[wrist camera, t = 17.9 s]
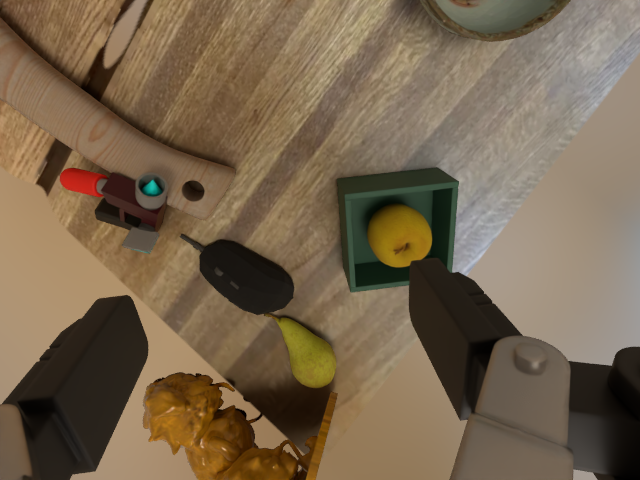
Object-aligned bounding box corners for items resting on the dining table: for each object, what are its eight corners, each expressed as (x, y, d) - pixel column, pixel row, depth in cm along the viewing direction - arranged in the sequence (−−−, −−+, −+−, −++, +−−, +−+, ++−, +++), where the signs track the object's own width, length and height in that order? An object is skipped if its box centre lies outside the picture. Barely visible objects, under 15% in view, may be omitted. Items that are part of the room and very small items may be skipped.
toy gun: (179, 176, 31) (153, 225, 29) (168, 227, 42) (148, 266, 39) (56, 119, 29) (17, 168, 27) (76, 189, 39) (49, 228, 37)
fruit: (354, 370, 47) (305, 290, 46) (321, 403, 44) (267, 319, 43) (330, 365, 52) (285, 292, 50) (299, 394, 49) (251, 319, 48)
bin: (336, 178, 41) (344, 194, 36) (437, 167, 41) (458, 181, 36) (343, 267, 45) (350, 292, 40) (433, 256, 46) (451, 280, 41)
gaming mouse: (195, 213, 41) (187, 227, 37) (303, 280, 46) (305, 298, 42) (166, 255, 43) (156, 272, 39) (273, 315, 47) (273, 335, 44)
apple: (349, 222, 42) (362, 254, 35) (391, 182, 41) (415, 207, 34) (385, 255, 45) (405, 292, 37) (426, 219, 43) (455, 250, 36)
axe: (170, 263, 37) (-201, 12, 26) (179, 244, 42) (-131, 25, 31) (291, 126, 34) (-63, -218, 23) (286, 122, 39) (-10, -164, 28)
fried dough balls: (264, 669, 31) (10, 553, 34) (293, 554, 52) (135, 490, 56) (338, 394, 38) (124, 322, 42) (337, 392, 60) (195, 345, 64)
